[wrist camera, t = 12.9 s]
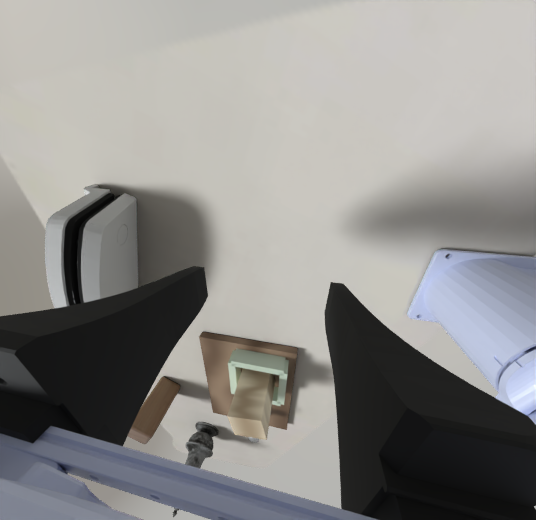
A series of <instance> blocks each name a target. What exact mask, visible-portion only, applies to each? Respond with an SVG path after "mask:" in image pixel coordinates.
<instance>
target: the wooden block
mask: <svg viewBox="0 0 536 520" xmlns="http://www.w3.org/2000/svg"><path fill="white" fill-rule="evenodd" d="M179 389H180V385H178V384H176V383H175V382H173V381H171V380H169V379H167V378H166V377H162V378H161V379H160V381H159V382H158V383H157V385H156V386H155V388H154V389H153V391H152V392H151V394H150V395H149V396H148V398H147V399H146V401H145V402H144V404H143V405H142V407H141V408H140V410H139V412H138V414H137V416H136V419H135V421H134V423H133V425H132V427H131V429H130V431H129V433H128V436H129V437H130V438H132V439H135V440H136V441H138V442H140V443H143V444H146V443H147V442H148V441H149V440H150V439H151V438H152V436H153V435H154V433H155V431H156V430H157V428H158V426H159V424H160V423H161V421H162V419H163V417H164V416H165V414H166V412H167V410H168V409H169V407H170V405H171V403H172V402H173V400H174V398H175V396H176V395H177V393H178V391H179Z"/></svg>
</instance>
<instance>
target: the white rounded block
mask: <svg viewBox="0 0 536 520" xmlns="http://www.w3.org/2000/svg"><path fill="white" fill-rule="evenodd" d="M84 192H85V196H83V197H82V198H80V199H78V200H77V201H75V202H73V203H71V204H70V205H68V206H66V207H65V208H63V209H61V210H59V211H58V212H56V213H54V214H53V215H52V216H51V217H50V218H49V219H48V222H47V224H46V237H45V264H46V273H47V281H48V286H49V291H50V296H51V299H52V302H53V305H54V307H55V308H60V307H66V306H71V305H76V304H81V303H85V302H89V301H93V300H98V299H102V298H106V297H110V296H113V295H117V294H120V293H123V292H127V291H130V290H133V289H136V288H138V246H137V202H136V198H134V197H133V196H131V195H128V194H126V193H124V194H123V195H121V196H120V195H119V196H117V197H116V198H115V199H114V194H111V191H110V189H99V185H91V186H88V187H85V188H84Z"/></svg>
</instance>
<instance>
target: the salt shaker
mask: <svg viewBox="0 0 536 520" xmlns="http://www.w3.org/2000/svg"><path fill="white" fill-rule="evenodd" d="M196 429H197V431H198V432H196V433H195V434H193V435H192V437H191V438H190V439H189V442H187V443H186V448H187V449H188V451H189V454H188V458H187V461H186V465H189V466H193V467H196V468H200V467H201V465H202V463H203V461H204V459H205V458H206V457H211V456H212V454H213V452H212V449H213V440H212V437H213V436H216V435H217V434H218V430H217V428H216V427H214V426H213V425H211V424H209V423H205V422H198V423H196ZM174 509H175V510H174V512H173V517H174V516H175V515H176V514H177V510H179V509H177V508H174Z"/></svg>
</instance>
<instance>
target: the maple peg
mask: <svg viewBox="0 0 536 520" xmlns="http://www.w3.org/2000/svg"><path fill="white" fill-rule="evenodd" d="M274 386H275V377H274V374H271V373H265V372H260V371H255V370H250V369H245V368H243V369H242V372H241V375H240V378H239V381H238V384H237V387H236V391H235V394H234V397H233V400H232V403H231V406H230V409H229V413H228V416H227V417H228V419H229V422H230V424H231V426H232V429H233V431H234V434H235V435H239V436H246V437H252V438H258V439H264V440H267V434H268V427H269V420H270V413H271V407H272V400H273V393H274Z"/></svg>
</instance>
